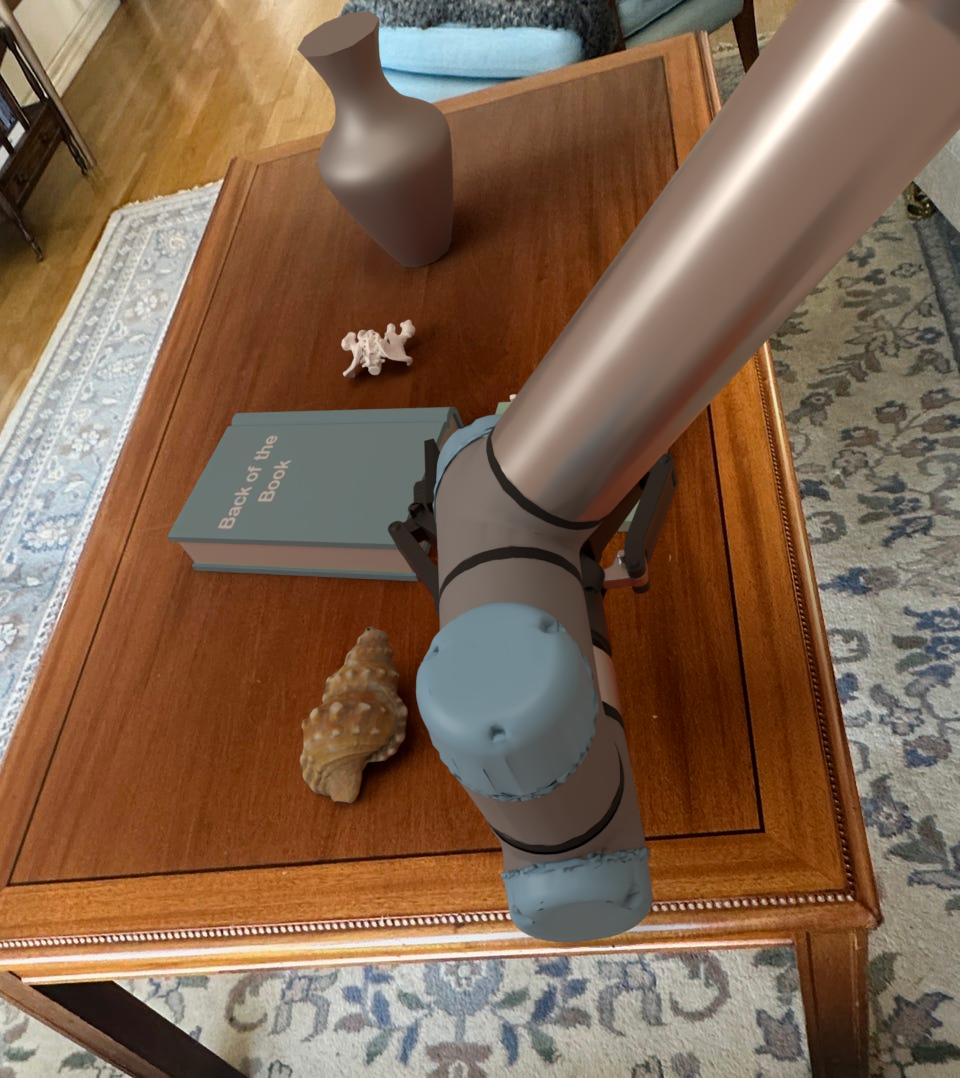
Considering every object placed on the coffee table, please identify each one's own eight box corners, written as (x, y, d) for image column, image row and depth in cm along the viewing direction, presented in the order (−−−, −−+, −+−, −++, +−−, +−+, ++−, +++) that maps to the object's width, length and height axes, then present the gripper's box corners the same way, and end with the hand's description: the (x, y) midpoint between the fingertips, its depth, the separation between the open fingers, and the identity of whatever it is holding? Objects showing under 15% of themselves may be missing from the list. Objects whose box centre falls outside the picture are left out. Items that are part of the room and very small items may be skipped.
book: (195, 570, 90) (166, 536, 86) (262, 441, 99) (239, 406, 95) (418, 581, 81) (397, 544, 77) (469, 438, 90) (452, 399, 86)
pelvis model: (410, 304, 99) (403, 342, 95) (423, 339, 102) (416, 377, 98) (337, 320, 101) (326, 358, 97) (352, 354, 104) (342, 392, 100)
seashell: (328, 731, 78) (313, 620, 74) (428, 737, 76) (418, 624, 73) (288, 806, 70) (269, 685, 66) (399, 814, 68) (386, 691, 64)
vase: (472, 280, 105) (389, 53, 87) (351, 298, 110) (249, 86, 92) (493, 202, 114) (422, -20, 96) (380, 222, 119) (292, 14, 101)
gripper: (379, 737, 64) (382, 501, 78) (764, 657, 60) (694, 422, 74) (334, 678, 59) (345, 436, 73) (754, 585, 54) (680, 346, 68)
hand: (521, 428), depth 73 cm, fingers open, 13 cm apart
